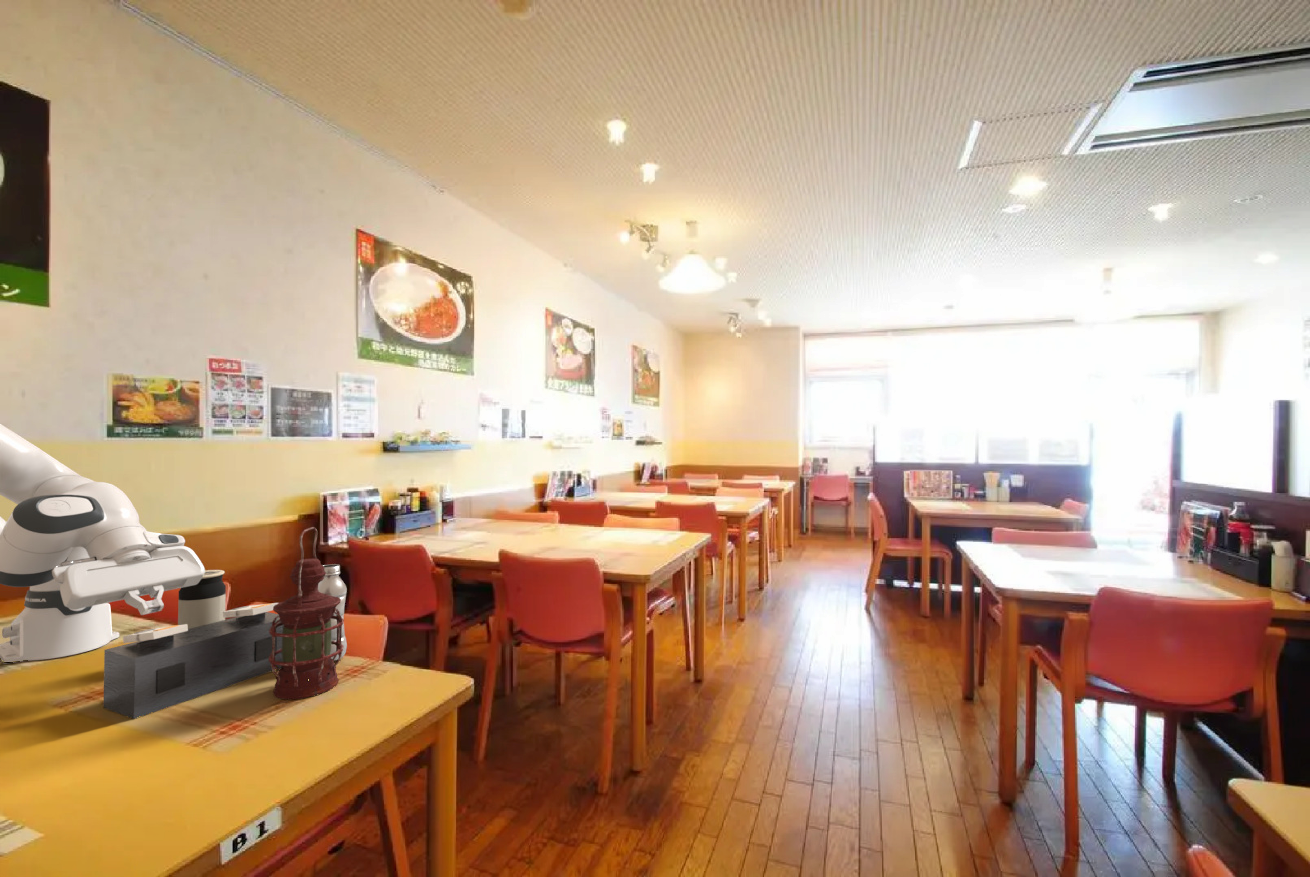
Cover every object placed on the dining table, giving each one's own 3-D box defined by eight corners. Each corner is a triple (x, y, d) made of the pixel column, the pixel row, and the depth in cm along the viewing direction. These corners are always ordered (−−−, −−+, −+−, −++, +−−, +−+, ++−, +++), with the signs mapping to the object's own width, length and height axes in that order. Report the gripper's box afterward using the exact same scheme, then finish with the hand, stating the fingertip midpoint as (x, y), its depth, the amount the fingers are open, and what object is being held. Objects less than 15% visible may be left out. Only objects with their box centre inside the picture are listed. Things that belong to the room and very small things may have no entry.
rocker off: (223, 617, 115) (222, 611, 115) (249, 611, 119) (248, 605, 120) (253, 615, 111) (252, 608, 111) (279, 608, 115) (278, 602, 116)
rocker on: (123, 643, 100) (122, 635, 100) (157, 634, 105) (157, 627, 105) (153, 639, 96) (153, 631, 96) (188, 630, 101) (187, 623, 101)
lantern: (330, 698, 102) (332, 531, 102) (254, 705, 99) (257, 533, 100) (352, 672, 113) (353, 523, 114) (284, 677, 111) (286, 524, 112)
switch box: (103, 707, 98) (104, 644, 98) (260, 657, 122) (261, 606, 122) (135, 719, 94) (136, 652, 94) (291, 665, 117) (292, 611, 118)
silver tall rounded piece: (331, 667, 116) (332, 569, 117) (303, 664, 117) (304, 568, 118) (353, 656, 122) (354, 563, 123) (326, 653, 124) (328, 562, 124)
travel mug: (223, 658, 121) (224, 574, 121) (174, 666, 116) (176, 579, 117) (225, 648, 127) (227, 568, 128) (180, 655, 123) (181, 572, 123)
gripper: (54, 552, 96) (84, 616, 92) (192, 534, 115) (221, 587, 111) (41, 576, 98) (70, 640, 94) (179, 554, 117) (207, 607, 113)
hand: (153, 611), depth 103 cm, fingers closed
